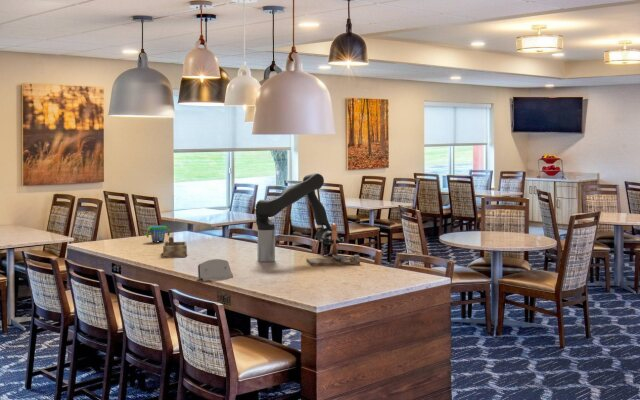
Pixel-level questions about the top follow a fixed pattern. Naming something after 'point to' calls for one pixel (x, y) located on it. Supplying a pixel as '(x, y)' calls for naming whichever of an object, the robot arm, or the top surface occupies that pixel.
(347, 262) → the nutcracker base
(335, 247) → the lever
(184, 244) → the figurine corral
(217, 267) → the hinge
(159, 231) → the potted plant
